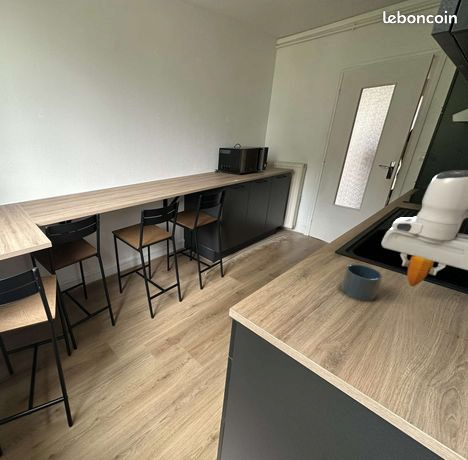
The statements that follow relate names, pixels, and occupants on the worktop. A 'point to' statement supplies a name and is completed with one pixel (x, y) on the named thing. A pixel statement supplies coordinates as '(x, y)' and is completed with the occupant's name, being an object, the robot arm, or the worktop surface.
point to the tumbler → (361, 282)
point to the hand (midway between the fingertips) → (418, 269)
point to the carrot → (418, 269)
